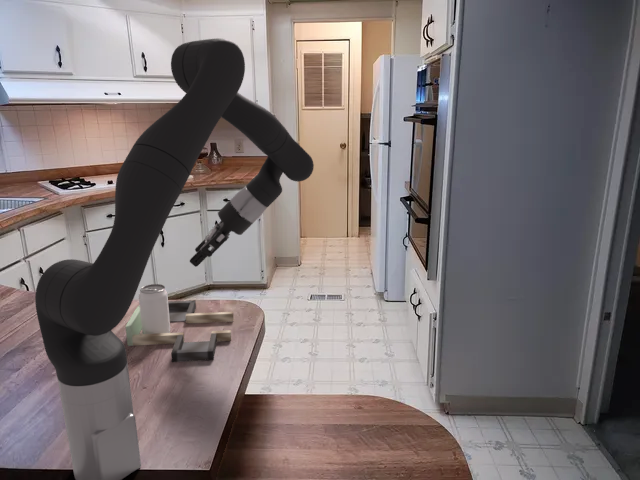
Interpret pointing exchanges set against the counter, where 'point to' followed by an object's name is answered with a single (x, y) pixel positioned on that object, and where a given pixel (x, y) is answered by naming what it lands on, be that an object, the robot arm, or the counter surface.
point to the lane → (181, 349)
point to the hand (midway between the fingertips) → (195, 258)
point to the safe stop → (133, 325)
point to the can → (154, 309)
